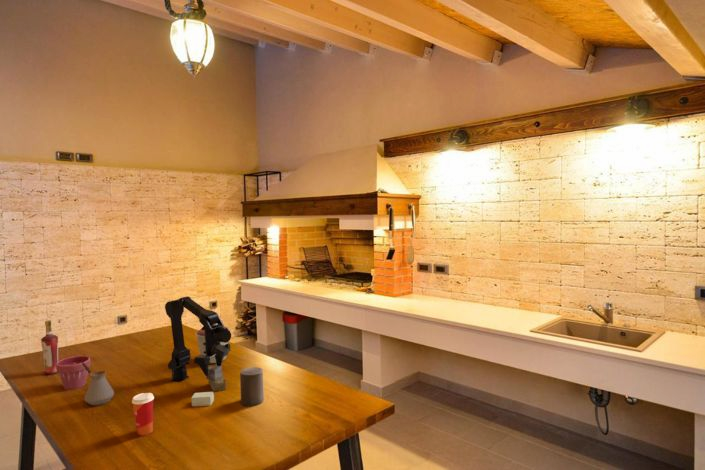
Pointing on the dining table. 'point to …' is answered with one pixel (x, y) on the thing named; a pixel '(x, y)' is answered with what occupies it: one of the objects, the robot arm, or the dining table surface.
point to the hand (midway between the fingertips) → (213, 372)
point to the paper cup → (143, 413)
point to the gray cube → (214, 372)
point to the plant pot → (73, 371)
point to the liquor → (50, 349)
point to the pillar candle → (251, 386)
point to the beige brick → (202, 399)
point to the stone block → (218, 384)
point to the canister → (201, 340)
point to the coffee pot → (98, 388)
